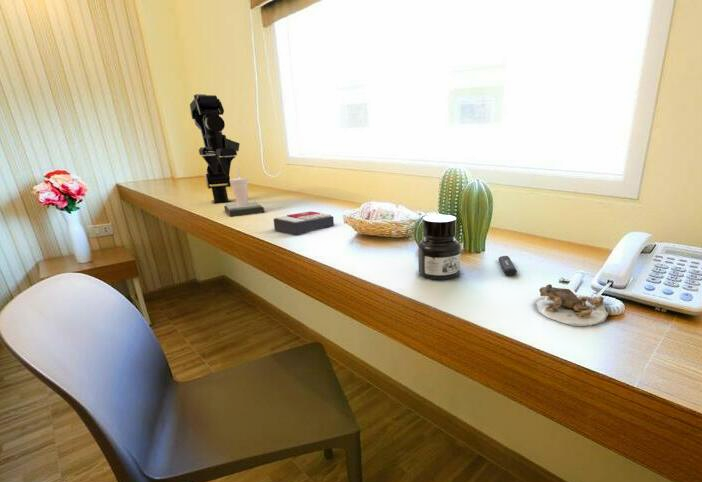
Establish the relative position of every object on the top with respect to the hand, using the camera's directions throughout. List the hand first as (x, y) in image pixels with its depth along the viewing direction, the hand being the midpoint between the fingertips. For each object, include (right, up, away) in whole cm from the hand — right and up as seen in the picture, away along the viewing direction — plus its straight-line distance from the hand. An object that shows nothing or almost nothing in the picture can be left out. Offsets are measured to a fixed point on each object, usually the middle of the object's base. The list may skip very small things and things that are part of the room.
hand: (221, 174), depth 152 cm
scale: (+10, -15, -3) cm, 18 cm away
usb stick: (+95, -39, -66) cm, 122 cm away
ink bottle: (+79, -40, -68) cm, 112 cm away
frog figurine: (+101, -46, -85) cm, 140 cm away
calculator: (+40, -25, -28) cm, 55 cm away
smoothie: (+10, -13, -3) cm, 16 cm away
